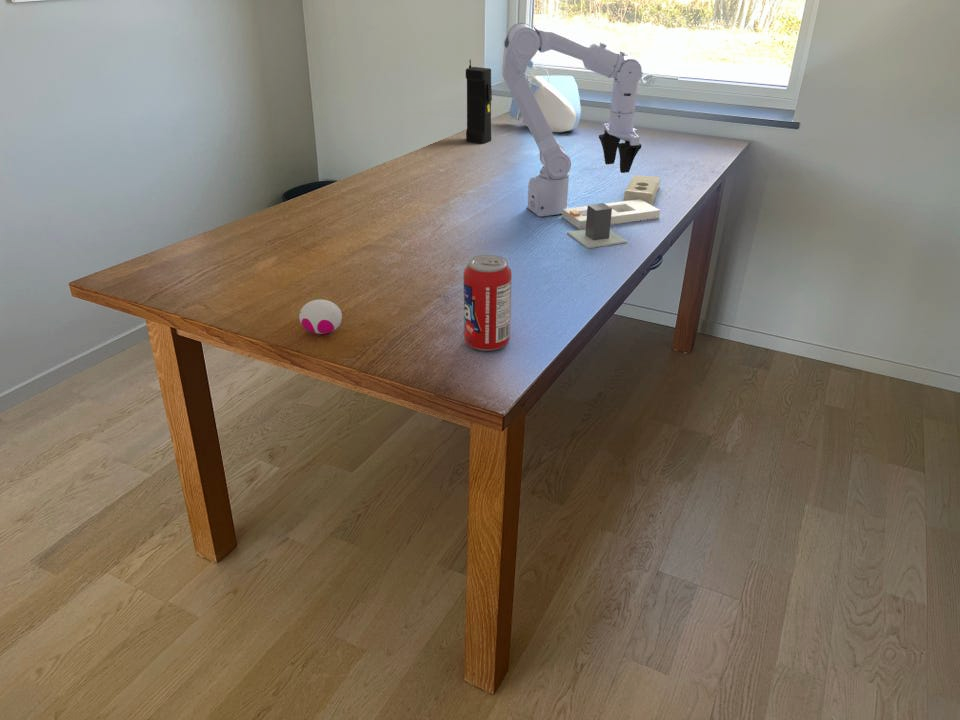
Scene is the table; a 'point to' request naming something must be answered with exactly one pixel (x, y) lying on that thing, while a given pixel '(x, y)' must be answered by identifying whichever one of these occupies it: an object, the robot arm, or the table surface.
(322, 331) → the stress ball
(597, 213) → the charger
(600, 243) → the mat
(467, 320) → the soda can
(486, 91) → the portable radio
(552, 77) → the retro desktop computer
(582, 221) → the power strip
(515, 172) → the table surface
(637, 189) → the electrical outlet
